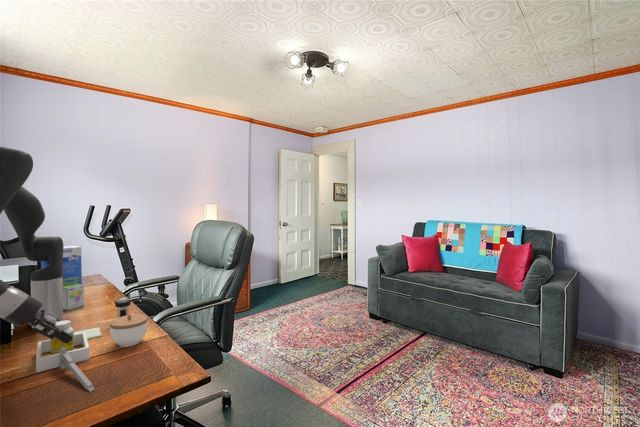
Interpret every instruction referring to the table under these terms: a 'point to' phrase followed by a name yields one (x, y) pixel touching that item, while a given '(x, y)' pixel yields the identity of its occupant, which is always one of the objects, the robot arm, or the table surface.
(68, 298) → the ink box
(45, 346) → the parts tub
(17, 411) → the table surface
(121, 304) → the push button
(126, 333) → the lidded jar
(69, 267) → the string lights box
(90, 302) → the table surface
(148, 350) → the table surface
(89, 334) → the rubber mat
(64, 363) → the caliper
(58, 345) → the supplement bottle
